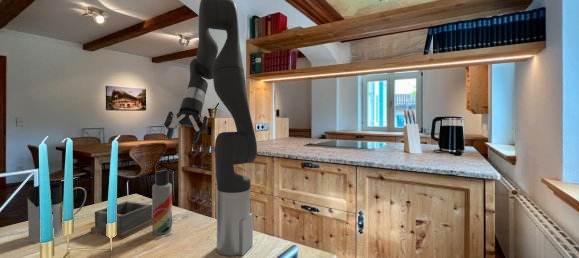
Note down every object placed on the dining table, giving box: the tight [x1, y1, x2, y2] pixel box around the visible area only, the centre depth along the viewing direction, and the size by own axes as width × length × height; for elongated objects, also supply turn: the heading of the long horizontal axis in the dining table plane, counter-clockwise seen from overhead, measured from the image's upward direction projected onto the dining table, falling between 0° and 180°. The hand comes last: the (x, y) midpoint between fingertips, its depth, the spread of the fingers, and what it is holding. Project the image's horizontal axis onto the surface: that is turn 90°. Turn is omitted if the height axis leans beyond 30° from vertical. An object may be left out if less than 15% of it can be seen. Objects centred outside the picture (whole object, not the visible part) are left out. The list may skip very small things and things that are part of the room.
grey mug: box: [26, 183, 87, 243], centre depth 83 cm, size 9×14×15 cm, turn 130°
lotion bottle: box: [151, 169, 173, 236], centre depth 85 cm, size 6×6×20 cm
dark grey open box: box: [90, 200, 152, 240], centre depth 88 cm, size 13×13×6 cm
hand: (181, 140), depth 93 cm, fingers open, 8 cm apart
